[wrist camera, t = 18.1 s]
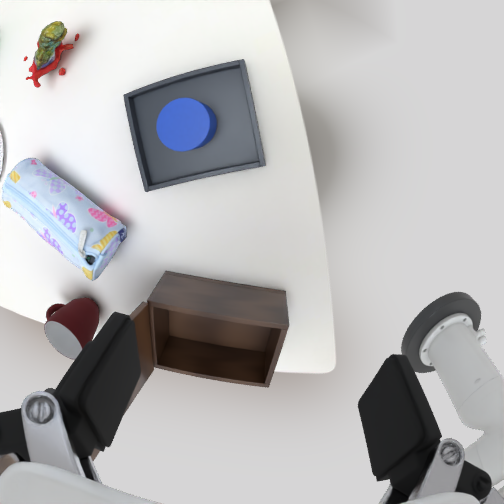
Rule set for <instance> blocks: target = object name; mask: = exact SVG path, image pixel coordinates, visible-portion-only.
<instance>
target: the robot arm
mask: <svg viewBox="0 0 504 504" xmlns="http://www.w3.org/2000/svg"><path fill="white" fill-rule="evenodd" d="M484 334H485V330H484V329H481V330H478V331H477V332H476V331H475V330H474V329H473V323H472V320H471V319H470V317H469V316H468V315H467V314H464V313H456V314H453V315H450V316H448V317H446V318H444V319H443V320H441V321H440V322H439V323H437V324H436V325H435V326H434V327H433V328H432V329H431V330H430V331H429V333H428V334H427V335H426V337H425V338H424V340H423V342H422V344H421V346H420V349H419V356H420V359H421V361H422V362H423V364H425V365H427V366H434V368H435V370H436V371H437V373H438V375H439V377H440V379H441V381H442V382H443V385H444V387H445V388H446V391H447V393H448V395H449V397H450V398H451V401H452V403H453V405H454V407H455V409H456V411H457V413H458V415H459V418H460V419H461V421H462V423H463V424H464V425H466V426H467V427H469V428H472V429H478V430H483V431H484V434H483V436H481V437H480V438H479V439H478V440H477V441H476V442H474V443H473V444H472V445H470V446H469V447H467V448H466V449H463V447H462V445H461V444H460V443H459V442H458V441H457V440H454V439H452V438H449V439H444V440H442V441H440V438H441V437H442V435H441V433H440V430H439V427H438V425H437V422H436V420H435V417H434V415H433V412H432V410H431V408H430V406H429V403H428V401H427V398H426V396H425V394H424V392H423V389H422V387H421V385H420V383H419V381H418V379H417V376H416V374H415V372H414V370H413V368H412V366H411V364H410V362H409V360H408V358H407V356H406V355H394V354H393V355H391V356H390V357H389V358H387V359H386V360H385V361H384V363H383V365H382V366H381V368H380V369H379V371H378V373H377V374H376V376H375V378H374V379H373V381H372V382H371V383H370V385H369V387H368V388H367V389H366V391H365V393H364V394H363V395H362V397H361V398H360V400H359V402H358V408H359V413H360V417H361V421H362V426H363V430H364V434H365V439H366V443H367V448H368V453H369V458H370V463H371V468H372V472H373V475H374V476H376V478H377V481H383V480H388V479H390V483H391V484H390V486H389V488H388V489H387V491H386V493H385V494H384V496H383V498H382V499H381V501H380V502H379V504H504V486H503V487H502V488H501V489H499V490H498V491H497V490H496V489H495V488H494V487H493V488H492V489H491V487H492V486H494V485H495V484H497V483H499V482H500V481H502V480H503V479H504V379H503V377H502V375H501V374H500V372H499V371H498V369H497V368H496V366H495V365H494V363H493V362H492V361H491V359H490V358H489V356H488V355H487V353H486V352H485V350H484V349H483V348H482V346H481V345H483V344H485V343H486V337H485V336H484ZM140 375H141V367H140V360H139V353H138V346H137V338H136V330H135V322H134V321H132V320H131V318H130V316H129V315H125V314H121V313H118V312H114V313H113V314H112V315H111V316H110V318H109V319H108V320H107V322H106V323H105V325H104V326H103V327H102V329H101V330H100V332H99V333H98V334H97V336H96V337H95V339H94V340H93V341H89V342H88V343H87V344H86V345H85V346H84V348H83V349H82V350H81V352H80V353H79V355H78V356H77V358H76V359H75V361H74V362H73V364H72V365H71V366H70V368H69V369H68V371H67V372H66V374H65V375H64V377H63V379H62V380H61V382H60V383H59V385H58V386H57V388H56V389H55V391H54V392H53V394H52V395H51V394H49V393H47V392H44V391H37V392H34V393H31V394H30V395H28V396H27V397H26V398H25V399H24V401H23V403H22V406H21V408H20V409H15V410H11V411H6V412H1V413H0V504H162V503H158V502H154V501H150V500H147V499H143V498H141V497H137V496H134V495H131V494H128V493H125V492H122V491H119V490H116V489H113V488H111V487H108V486H106V485H103V484H102V482H101V480H100V478H99V475H98V473H97V471H96V469H95V466H94V464H93V461H92V459H91V455H92V453H93V451H94V448H95V449H98V450H100V451H104V449H105V447H109V446H110V445H111V443H112V441H113V439H114V436H115V434H116V431H117V429H118V426H119V424H120V422H121V419H122V417H123V415H124V412H125V410H126V408H127V405H128V403H129V401H130V398H131V396H132V394H133V392H134V389H135V387H136V385H137V383H138V380H139V378H140Z"/></svg>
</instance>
